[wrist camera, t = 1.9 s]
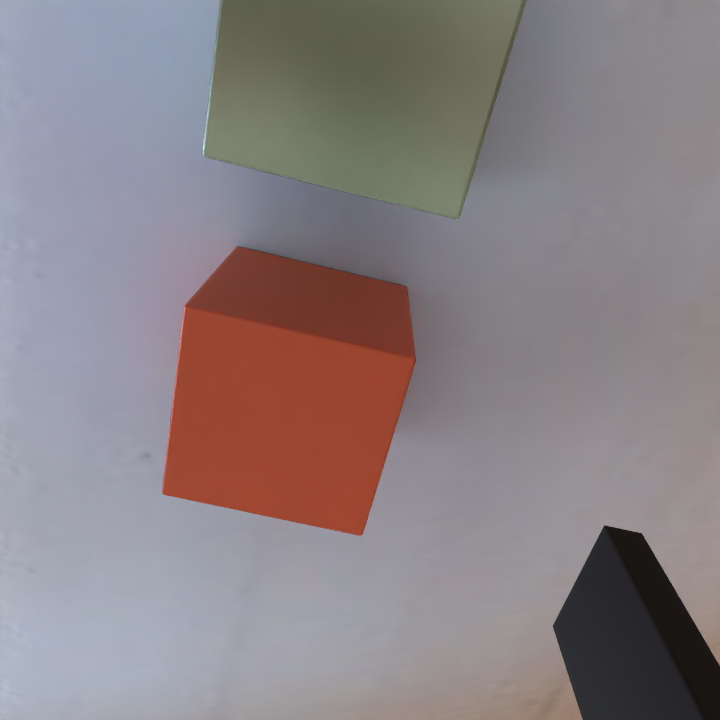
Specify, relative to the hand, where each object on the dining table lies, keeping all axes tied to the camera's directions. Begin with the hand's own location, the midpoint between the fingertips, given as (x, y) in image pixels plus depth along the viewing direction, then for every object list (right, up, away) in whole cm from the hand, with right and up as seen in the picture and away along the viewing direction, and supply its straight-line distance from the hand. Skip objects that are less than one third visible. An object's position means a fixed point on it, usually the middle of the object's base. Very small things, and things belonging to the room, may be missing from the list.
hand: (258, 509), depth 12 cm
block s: (0, +3, +7) cm, 7 cm away
